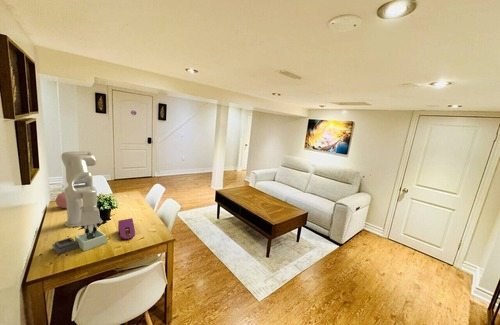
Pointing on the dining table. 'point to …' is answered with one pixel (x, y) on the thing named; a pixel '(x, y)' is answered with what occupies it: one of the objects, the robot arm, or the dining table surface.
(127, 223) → the mounting bracket
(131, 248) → the dining table surface
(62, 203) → the balloon
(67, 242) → the socket block
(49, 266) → the dining table surface
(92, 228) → the grey rounded piece
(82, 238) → the bin
